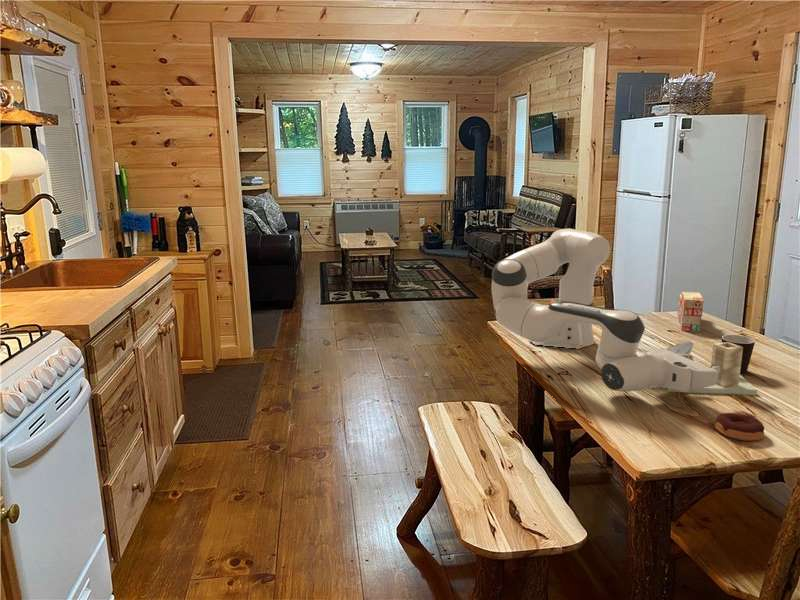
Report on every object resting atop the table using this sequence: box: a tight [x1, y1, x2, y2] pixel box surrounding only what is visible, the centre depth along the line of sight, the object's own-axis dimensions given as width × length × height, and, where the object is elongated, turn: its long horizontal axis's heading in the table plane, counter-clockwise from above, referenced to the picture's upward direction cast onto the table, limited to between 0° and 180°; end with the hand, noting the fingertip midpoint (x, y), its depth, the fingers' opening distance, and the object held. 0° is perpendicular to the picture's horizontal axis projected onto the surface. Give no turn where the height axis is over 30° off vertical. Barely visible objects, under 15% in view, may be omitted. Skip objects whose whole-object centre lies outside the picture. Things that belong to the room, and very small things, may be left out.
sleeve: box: [710, 342, 743, 388], centre depth 161 cm, size 5×5×11 cm
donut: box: [714, 412, 765, 442], centre depth 137 cm, size 10×10×4 cm
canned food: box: [665, 341, 695, 361], centre depth 179 cm, size 11×10×10 cm
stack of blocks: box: [677, 291, 704, 333], centre depth 223 cm, size 21×6×12 cm, turn 159°
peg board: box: [667, 375, 758, 396], centre depth 165 cm, size 22×12×2 cm, turn 82°
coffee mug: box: [721, 334, 756, 376], centre depth 176 cm, size 12×9×10 cm
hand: (704, 363), depth 158 cm, fingers open, 8 cm apart
